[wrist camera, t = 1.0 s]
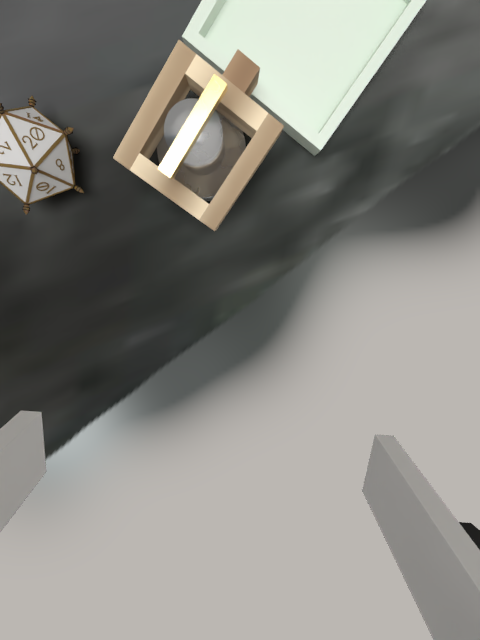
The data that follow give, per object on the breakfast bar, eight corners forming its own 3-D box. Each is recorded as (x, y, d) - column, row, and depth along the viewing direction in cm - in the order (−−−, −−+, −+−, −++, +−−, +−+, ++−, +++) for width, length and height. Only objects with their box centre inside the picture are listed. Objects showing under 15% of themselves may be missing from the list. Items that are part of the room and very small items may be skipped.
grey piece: (152, 169, 33) (111, 142, 22) (194, 98, 32) (173, 30, 21) (216, 216, 35) (207, 212, 24) (259, 149, 33) (272, 112, 22)
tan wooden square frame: (124, 164, 29) (112, 157, 26) (198, 35, 27) (194, 11, 24) (216, 230, 31) (214, 231, 28) (293, 114, 28) (300, 101, 25)
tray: (185, 51, 31) (181, 36, 28) (286, -126, 27) (291, -160, 25) (314, 155, 33) (320, 150, 31) (420, 5, 30) (436, -14, 28)
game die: (62, 150, 36) (11, 46, 27) (117, 195, 35) (83, 100, 25) (-12, 198, 33) (-99, 99, 24) (44, 249, 32) (-25, 165, 22)
